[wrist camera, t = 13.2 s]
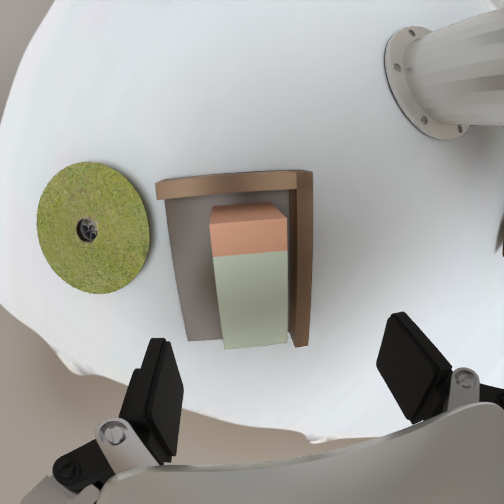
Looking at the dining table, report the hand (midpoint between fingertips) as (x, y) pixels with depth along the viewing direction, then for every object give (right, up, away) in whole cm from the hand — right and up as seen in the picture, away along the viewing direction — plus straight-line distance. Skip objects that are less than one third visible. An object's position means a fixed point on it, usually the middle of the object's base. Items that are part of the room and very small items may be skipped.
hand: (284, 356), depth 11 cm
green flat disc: (-15, +7, +11) cm, 19 cm away
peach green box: (-2, +4, +12) cm, 13 cm away
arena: (-2, +3, +13) cm, 14 cm away
